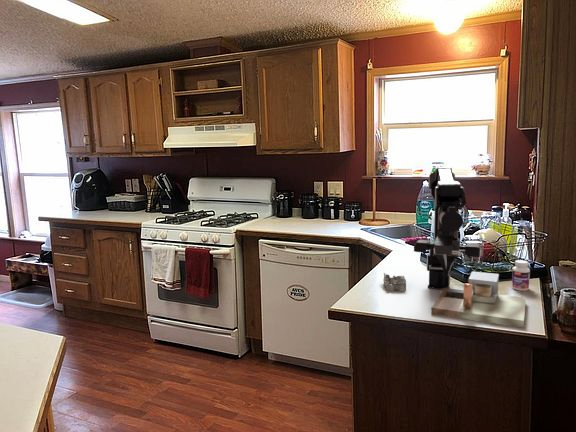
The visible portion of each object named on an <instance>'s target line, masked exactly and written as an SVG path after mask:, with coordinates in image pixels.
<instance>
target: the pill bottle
mask: <svg viewBox="0 0 576 432" xmlns="http://www.w3.org/2000/svg"><path fill="white" fill-rule="evenodd" d="M514 265H515V266H513V267H512V272H511V273H512V274H511V289H514V290H516V291H525V292H526V291H528V290H529V288H530V278H531V277H530V276H531V269H530V268H529V261H528V260H521V259H517V260H515V261H514Z"/></svg>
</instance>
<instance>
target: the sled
mask: <svg viewBox="0 0 576 432" xmlns="http://www.w3.org/2000/svg"><path fill="white" fill-rule="evenodd" d="M463 290H464V293H463V299H462V300H463V307H464V308H472V301H480V302H487V303H495V300H496V296H497V291H493V294H492V297H485V296H477V295H474V294H475V289H472V284H471V283H466V282H465V283H463Z"/></svg>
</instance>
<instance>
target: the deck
mask: <svg viewBox="0 0 576 432" xmlns="http://www.w3.org/2000/svg"><path fill="white" fill-rule="evenodd" d="M463 293H464V289H458V288H457V289H455V288H449V287H448V288H443V289H441V292H440V293H439V295H438V296H437V298H436V300H435V301H434V303H433V305H432V306H431V313H430V314H431V315H437V316H441V317H442V316H444V317H451V318H457V319H463V320H469V321H470V320H471V321H477V322H484V323H490V324H497V325H504V326H511V327H517V328H522V329H523V328H524V326H525V325H524V324H525V314H526V313H525V312H526V301H527V299H526V297H525V296H524V297H523V296H516V295H515V296H514V295H506V294H500V293H498V297H496V300H495V303H487V302H480V301H472V308H464V307H463ZM474 295H475V294H474ZM491 297H492V296H491Z"/></svg>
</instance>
